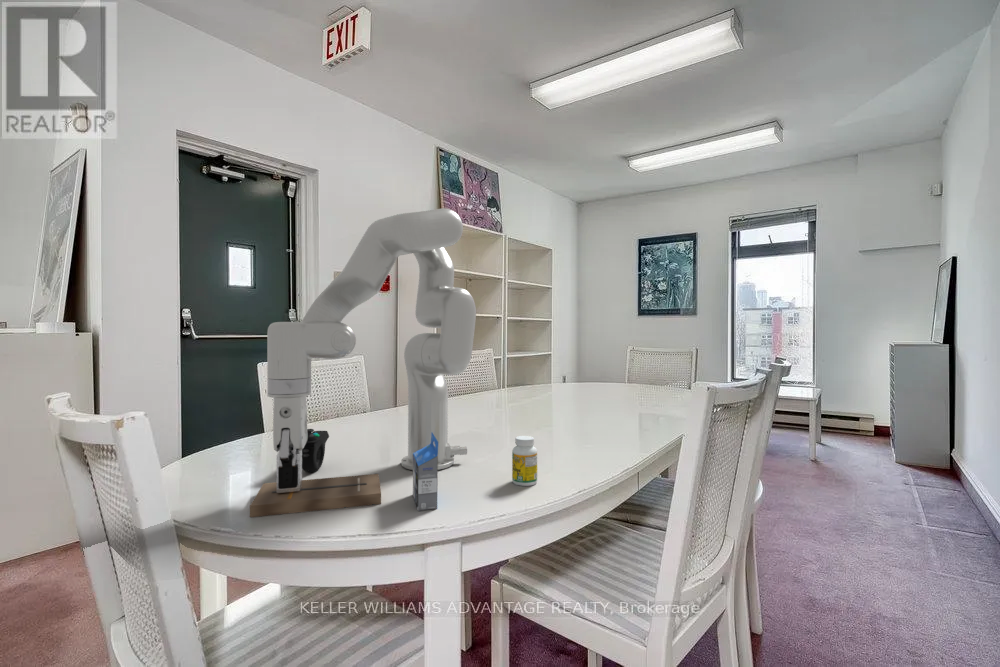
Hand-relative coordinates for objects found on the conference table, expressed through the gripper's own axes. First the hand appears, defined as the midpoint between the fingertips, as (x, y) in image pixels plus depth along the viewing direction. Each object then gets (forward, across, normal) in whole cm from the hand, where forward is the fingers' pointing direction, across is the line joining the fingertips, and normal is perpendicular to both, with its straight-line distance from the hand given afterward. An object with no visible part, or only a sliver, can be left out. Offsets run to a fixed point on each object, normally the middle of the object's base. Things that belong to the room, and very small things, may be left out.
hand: (289, 483), depth 87 cm
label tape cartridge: (+4, -7, -24) cm, 26 cm away
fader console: (+3, 0, -6) cm, 6 cm away
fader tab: (+1, 0, 0) cm, 1 cm away
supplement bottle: (+4, -2, -46) cm, 47 cm away
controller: (+4, +20, -2) cm, 20 cm away
